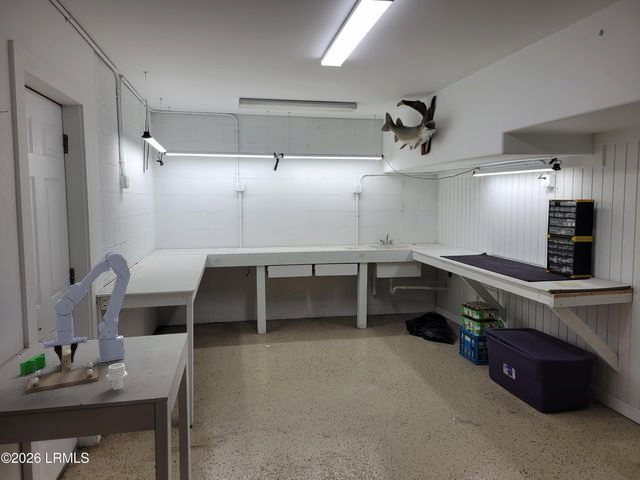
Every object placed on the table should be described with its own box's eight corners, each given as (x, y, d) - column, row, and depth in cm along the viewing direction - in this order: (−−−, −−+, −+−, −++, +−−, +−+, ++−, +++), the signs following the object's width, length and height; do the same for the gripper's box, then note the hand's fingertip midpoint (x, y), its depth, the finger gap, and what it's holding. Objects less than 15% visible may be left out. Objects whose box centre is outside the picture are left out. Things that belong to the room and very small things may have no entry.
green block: (29, 375, 164) (28, 363, 163) (20, 375, 164) (19, 363, 164) (51, 364, 175) (50, 353, 174) (42, 363, 175) (42, 352, 175)
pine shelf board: (72, 361, 178) (71, 349, 178) (70, 371, 167) (69, 358, 167) (64, 362, 177) (63, 350, 176) (62, 372, 166) (61, 360, 166)
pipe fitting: (124, 391, 149) (123, 368, 148) (103, 392, 149) (101, 369, 148) (131, 383, 155) (130, 361, 155) (110, 384, 155) (109, 362, 154)
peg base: (98, 369, 169) (98, 359, 169) (98, 380, 158) (97, 370, 158) (31, 380, 159) (30, 370, 159) (26, 392, 148) (25, 382, 148)
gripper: (86, 324, 177) (88, 356, 179) (44, 329, 171) (46, 362, 172) (85, 328, 171) (87, 362, 172) (42, 334, 165) (44, 368, 166)
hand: (67, 362), depth 172 cm, fingers closed on pine shelf board, 3 cm apart
